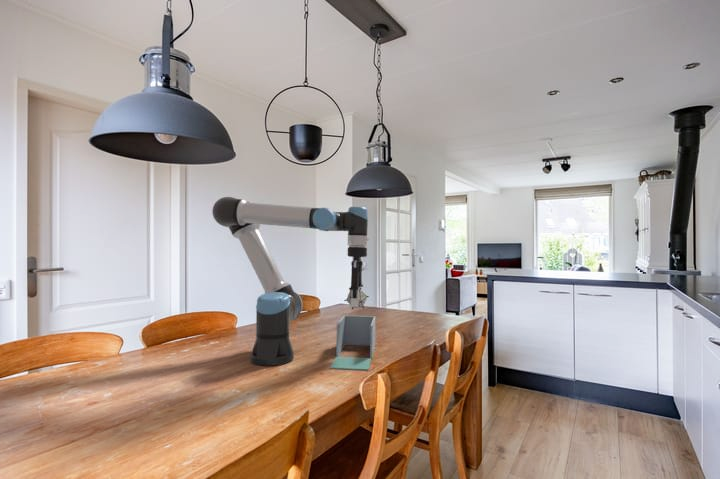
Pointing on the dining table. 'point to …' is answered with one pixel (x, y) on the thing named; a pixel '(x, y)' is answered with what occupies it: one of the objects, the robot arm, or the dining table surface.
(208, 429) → the dining table surface
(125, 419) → the dining table surface
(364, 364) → the mat
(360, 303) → the game die
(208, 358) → the dining table surface
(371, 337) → the slot box
